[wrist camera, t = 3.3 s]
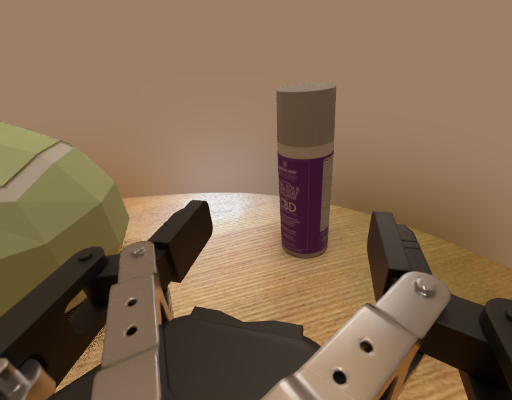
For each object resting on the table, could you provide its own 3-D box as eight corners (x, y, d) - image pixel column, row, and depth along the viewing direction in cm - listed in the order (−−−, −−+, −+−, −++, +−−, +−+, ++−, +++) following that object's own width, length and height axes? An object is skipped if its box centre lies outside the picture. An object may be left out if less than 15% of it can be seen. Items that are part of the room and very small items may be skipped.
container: (274, 251, 26) (264, 92, 19) (290, 226, 29) (287, 84, 22) (321, 263, 24) (330, 91, 17) (331, 234, 28) (343, 82, 20)
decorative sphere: (155, 232, 31) (109, 100, 23) (126, 357, 18) (3, 148, 10) (17, 258, 29) (-82, 122, 21) (-129, 420, 16) (-509, 216, 8)
